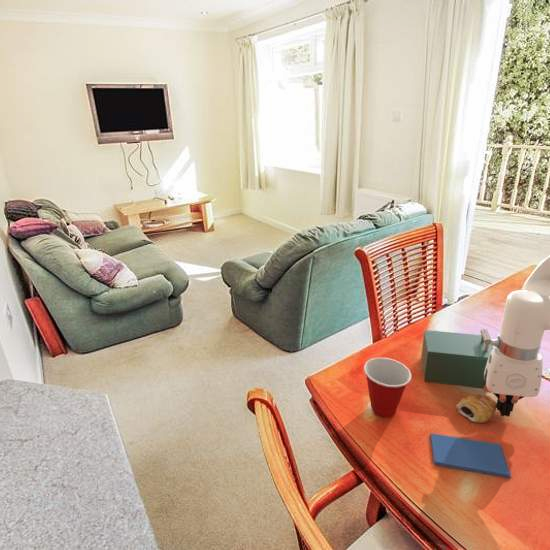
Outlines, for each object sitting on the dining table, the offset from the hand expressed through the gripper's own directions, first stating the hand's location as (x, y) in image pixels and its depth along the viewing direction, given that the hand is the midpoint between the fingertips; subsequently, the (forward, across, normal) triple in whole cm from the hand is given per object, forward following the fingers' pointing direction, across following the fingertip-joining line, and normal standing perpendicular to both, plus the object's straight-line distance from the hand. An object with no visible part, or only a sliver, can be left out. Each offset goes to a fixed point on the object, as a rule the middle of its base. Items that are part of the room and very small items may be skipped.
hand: (503, 411), depth 88 cm
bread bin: (+1, -9, +14) cm, 17 cm away
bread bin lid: (-8, -8, +15) cm, 18 cm away
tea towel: (+1, -10, -14) cm, 17 cm away
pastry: (+1, -6, 0) cm, 6 cm away
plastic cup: (+1, -27, -3) cm, 27 cm away
